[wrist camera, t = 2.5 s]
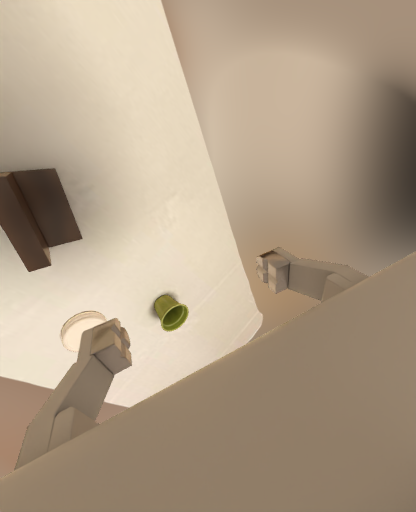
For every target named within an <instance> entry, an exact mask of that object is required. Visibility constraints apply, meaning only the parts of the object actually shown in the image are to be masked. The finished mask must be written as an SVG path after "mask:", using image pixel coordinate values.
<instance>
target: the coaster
mask: <svg viewBox="0 0 416 512" xmlns="http://www.w3.org/2000/svg"><path fill="white" fill-rule="evenodd" d="M104 322H107V321H106V319H105V317H104V316H103V315H102V314H100V313H98V312H91V311H90V312H84V313H80V314H78V315H76V316H74V317H72V318H71V319H70V320H69V321H67V323H66V324H65V325H64V327H63V329H62V331H61V337H62V344H63V346H64V347H65V348H66V349H67V350H69V351H73V352H79V347H80V341H81V335H82V333H83V331H85V330H88V329H90V328H92V327H95V326H97V325H99V324H102V323H104Z"/></svg>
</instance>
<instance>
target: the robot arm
mask: <svg viewBox="0 0 416 512" xmlns="http://www.w3.org/2000/svg"><path fill="white" fill-rule="evenodd" d="M256 263H257V264H259V265H258V267H257V273H258V276H259V278H260V279H261V281H263V282H264V283H268V287H269V288H270V289H271V290H272V291H273V292H274V293H276V294H277V293H279V292H281V291H283V290H285V289H287V288H288V289H290V290H293V291H296V292H298V293H301V294H304V295H307V296H310V297H312V298H315V299H318V300H321V304H319V305H317V306H315V307H313V308H311V309H310V310H308V311H306V312H304V313H302V314H300V315H299V316H297V317H295V318H293V319H291V320H289V321H288V322H286V323H284V324H282V325H280V326H278V327H277V328H275V329H273V330H271V331H269V332H268V333H266V334H264V335H262V336H260V337H259V338H257V339H255V340H253V341H251V342H249V343H247V344H246V345H244V346H242V347H240V348H238V349H236V350H235V351H233V352H231V353H229V354H227V355H225V356H224V357H222V358H220V359H218V360H216V361H214V362H213V363H211V364H209V365H207V366H205V367H203V368H202V369H200V370H198V371H196V372H194V373H192V374H191V375H189V376H187V377H185V378H183V379H181V380H180V381H178V382H176V383H174V384H172V385H170V386H169V387H167V388H165V389H163V390H161V391H159V392H158V393H156V394H154V395H152V396H150V397H148V398H147V399H145V400H143V401H141V402H139V403H137V404H136V405H134V406H132V407H130V408H128V409H126V410H125V411H123V412H121V413H119V414H117V415H115V416H114V417H112V418H110V419H108V420H106V421H104V422H103V423H101V424H99V423H97V422H96V421H95V420H96V417H97V415H98V413H99V411H100V408H101V406H102V404H103V401H104V399H105V397H106V394H107V392H108V390H109V387H110V385H111V382H112V380H113V378H114V375H115V374H116V373H118V372H120V371H122V370H124V369H126V368H128V367H130V366H132V361H131V353H130V351H129V350H128V349H129V347H130V339H129V336H128V333H127V331H126V330H125V328H123V327H121V326H120V321H119V320H118V319H117V318H114V319H112V320H109V321H107V322H104V323H102V324H99V325H97V326H95V327H92V328H90V329H88V330H85V331H83V333H82V335H81V341H80V347H79V352H78V358H77V362H76V363H74V364H73V365H72V366H71V368H70V369H69V371H68V372H67V373H66V375H65V376H64V377H63V379H62V380H61V382H60V383H59V384H58V386H57V387H56V389H55V390H54V391H53V393H52V394H51V395H50V397H49V398H48V400H47V401H46V402H45V404H44V405H43V407H42V408H41V409H40V411H39V412H38V414H37V415H36V416H35V418H34V419H33V420H32V422H31V423H30V425H29V426H28V427H27V430H26V434H25V437H24V440H23V443H22V447H21V450H20V453H19V456H18V460H17V463H16V466H15V470H14V471H13V472H11V473H9V474H7V475H5V476H4V477H2V478H0V512H416V252H414V253H412V254H410V255H409V256H407V257H405V258H403V259H401V260H399V261H397V262H396V263H394V264H392V265H390V266H388V267H386V268H385V269H383V270H381V271H379V272H377V273H375V274H374V275H372V276H370V277H369V276H367V275H365V274H363V273H361V272H359V271H357V270H355V269H353V268H351V267H350V266H348V265H342V264H336V263H330V262H323V261H317V260H310V259H303V258H301V259H299V258H297V257H295V256H294V255H292V254H290V253H289V252H287V251H286V250H284V249H282V248H280V247H277V248H275V249H273V250H271V251H269V252H267V253H264V254H262V255H260V256H257V258H256Z"/></svg>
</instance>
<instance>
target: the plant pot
mask: <svg viewBox="0 0 416 512" xmlns="http://www.w3.org/2000/svg"><path fill="white" fill-rule="evenodd" d="M154 308H155V310H156V312H157V314H158V316H159V318H160V320H161V326H162V328H163V330H165V331H173V330H176V329H178V328H179V327H180V326H181V325H182V324H183V323H184V322H185V321H186V319H187V317H188V313H189V311H188V307H187V306H186V305H184V304H180V303H178V302H177V301H175V300H174V299H173V298H171V297H170V296H168V295H163V296H161V297H160V298H158V299H157V300H156V302H155V304H154Z"/></svg>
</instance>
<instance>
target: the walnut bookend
mask: <svg viewBox="0 0 416 512" xmlns="http://www.w3.org/2000/svg"><path fill="white" fill-rule="evenodd" d="M0 225H1V226H2V228H3V230H4V231H5V233H6V235H7V236H8V238H9V240H10V241H11V243H12V245H13V246H14V248H15V250H16V251H17V253H18V255H19V256H20V258H21V260H22V261H23V263H24V265H25V266H26V268H27V270H28V271H29V272H31V271H34V270H38V269H41V268H44V267H48V266H51V259H50V251H49V247H53V246H57V245H61V244H64V243H68V242H72V241H76V240H80V239H82V236H81V233H80V231H79V228H78V226H77V223H76V221H75V218H74V216H73V213H72V211H71V208H70V205H69V203H68V200H67V198H66V195H65V193H64V190H63V188H62V185H61V182H60V180H59V177H58V175H57V172H56V170H55V168H53V169H40V170H27V171H15V172H2V173H0Z"/></svg>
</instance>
